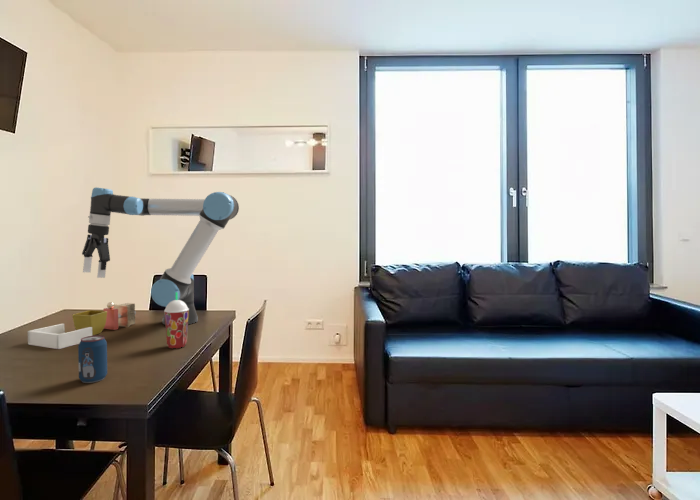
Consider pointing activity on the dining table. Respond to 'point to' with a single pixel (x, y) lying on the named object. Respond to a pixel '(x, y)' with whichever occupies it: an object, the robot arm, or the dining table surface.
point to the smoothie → (176, 323)
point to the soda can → (92, 359)
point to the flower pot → (90, 320)
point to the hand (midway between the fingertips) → (93, 274)
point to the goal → (57, 336)
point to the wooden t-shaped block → (119, 315)
